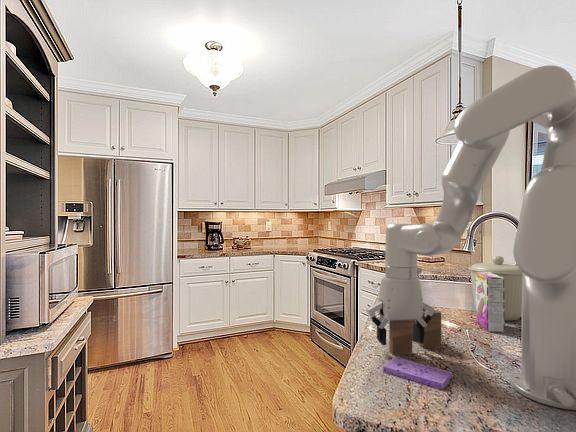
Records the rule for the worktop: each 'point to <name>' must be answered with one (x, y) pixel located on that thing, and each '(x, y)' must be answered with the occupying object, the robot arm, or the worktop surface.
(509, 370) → the worktop surface
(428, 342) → the tile
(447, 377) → the sponges
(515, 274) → the canister
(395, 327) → the tile
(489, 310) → the candy bar box
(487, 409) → the worktop surface
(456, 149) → the robot arm
